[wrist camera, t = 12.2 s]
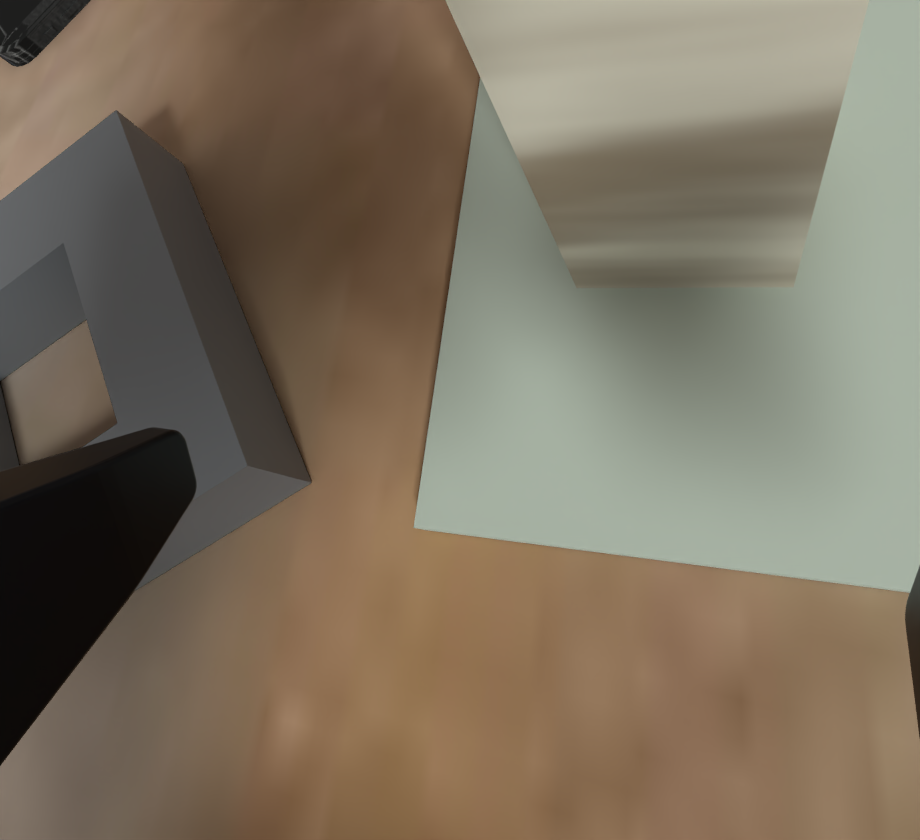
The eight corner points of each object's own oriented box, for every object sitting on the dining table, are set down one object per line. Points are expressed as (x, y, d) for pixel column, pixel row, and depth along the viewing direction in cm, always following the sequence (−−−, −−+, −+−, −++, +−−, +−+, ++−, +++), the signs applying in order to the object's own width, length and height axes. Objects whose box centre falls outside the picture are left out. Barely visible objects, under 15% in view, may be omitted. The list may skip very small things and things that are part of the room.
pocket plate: (311, 482, 20) (247, 465, 17) (-15, 681, 22) (-117, 694, 20) (182, 163, 25) (116, 110, 22) (-77, 356, 27) (-166, 330, 24)
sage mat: (963, 599, 14) (977, 600, 14) (425, 529, 19) (413, 527, 18) (964, -130, 18) (975, -161, 17) (508, -47, 22) (502, -70, 21)
